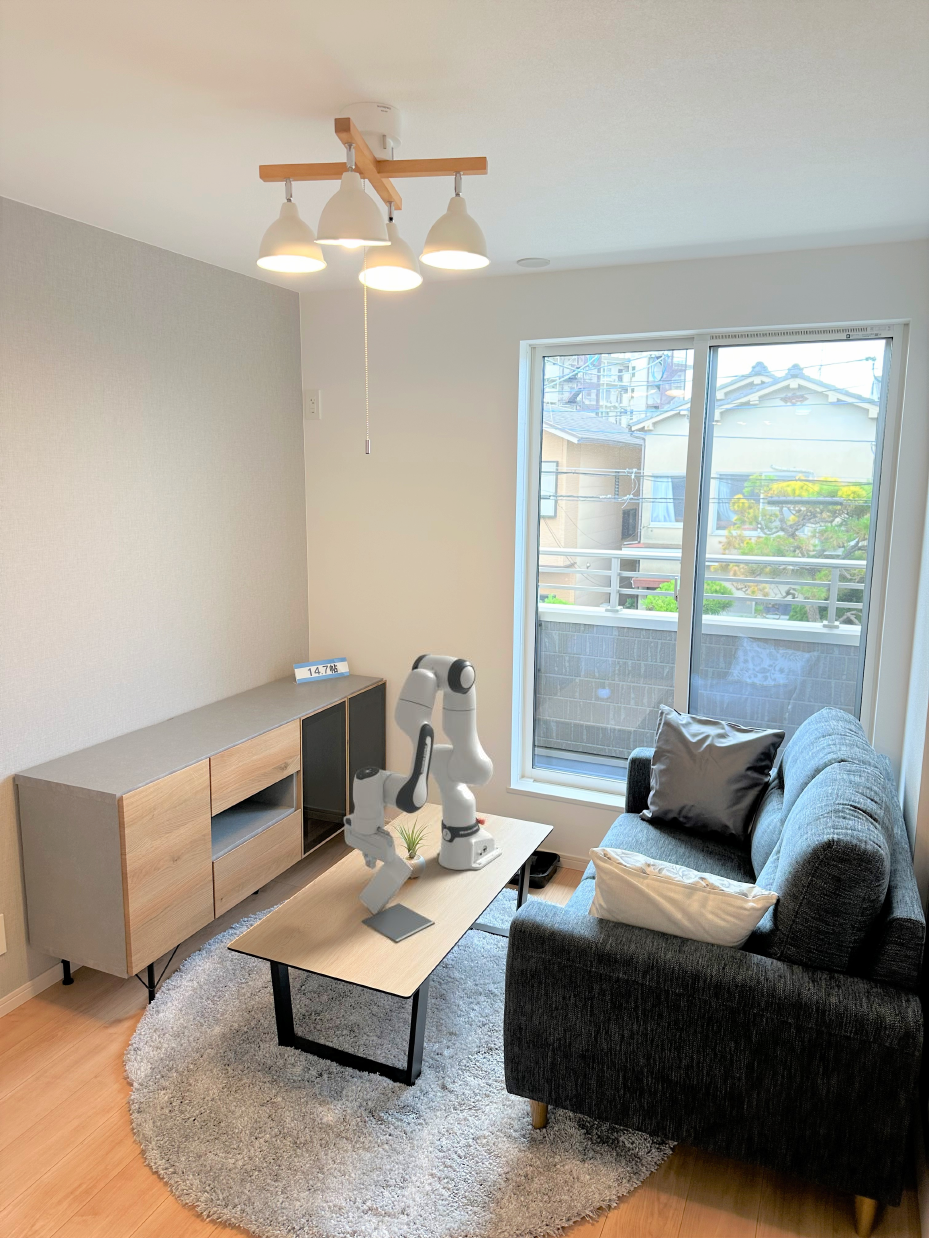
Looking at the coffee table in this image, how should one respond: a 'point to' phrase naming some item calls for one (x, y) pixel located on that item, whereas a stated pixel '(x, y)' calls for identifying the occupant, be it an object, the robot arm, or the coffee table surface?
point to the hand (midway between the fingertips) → (370, 866)
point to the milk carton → (385, 884)
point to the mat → (398, 922)
